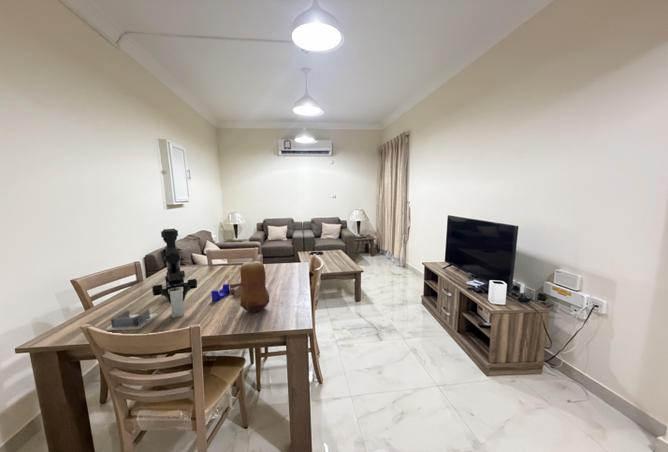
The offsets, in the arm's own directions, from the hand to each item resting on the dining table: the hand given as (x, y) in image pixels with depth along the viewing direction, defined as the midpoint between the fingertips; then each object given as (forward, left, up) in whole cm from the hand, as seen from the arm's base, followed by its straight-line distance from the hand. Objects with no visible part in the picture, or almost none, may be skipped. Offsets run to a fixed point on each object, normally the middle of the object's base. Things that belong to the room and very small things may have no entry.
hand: (177, 302), depth 126 cm
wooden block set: (+5, +39, -7) cm, 40 cm away
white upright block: (-1, +1, -7) cm, 7 cm away
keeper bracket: (-13, -13, -7) cm, 20 cm away
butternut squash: (+30, +20, -7) cm, 37 cm away
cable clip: (-1, +25, -7) cm, 26 cm away
